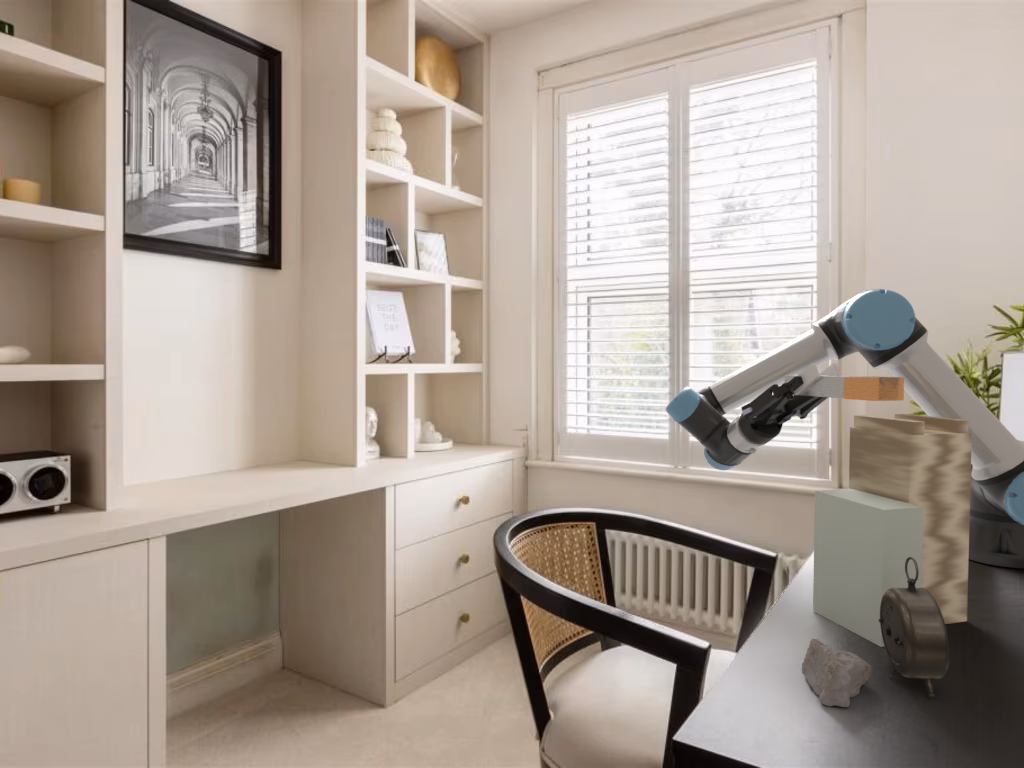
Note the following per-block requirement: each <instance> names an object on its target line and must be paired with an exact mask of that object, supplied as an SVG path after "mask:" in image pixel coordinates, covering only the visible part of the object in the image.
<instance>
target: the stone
mask: <svg viewBox="0 0 1024 768" xmlns="http://www.w3.org/2000/svg"><path fill="white" fill-rule="evenodd" d="M871 667H872V666H871V665H870V664H869V663H868V662H867V661H866V660H864V659H862V658H860V657H859V656H858V655H857V654H854V653H852V652H849V651H846V650H841V649H838V648H836V647H832V646H829V645H826V644H824V643H822V641H820V640H819V639H818V638H815V637H812V638H811V639H810V640H809V645H808V647H807V650H806V654H805V656H804V659H803V662H802V663H801V672H802V674H803V675H804V677H805V679H806V681H807V682H808V686H810V687H811V688H812V689H813V692H814V693H815V694H816V695H817V696H818V699H819V703H821V704H823V705H824V706H827V707H832V706H836V707H841V708H849V706H851V699H850V698H853V697H856V696H857V695H859V694H860V693H861V688H862V686H863V685H864V684H865V683H867V680H868V679H869V678H870V675H872V668H871Z"/></svg>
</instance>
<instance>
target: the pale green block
mask: <svg viewBox="0 0 1024 768" xmlns="http://www.w3.org/2000/svg"><path fill="white" fill-rule="evenodd" d="M813 521H814V522H813V523H814V524H813V526H814V529H813V530H814V533H813V536H814V537H813V538H814V539H813V585H812V586H813V588H812V590H813V595H812V598H813V599H812V602H813V603H812V611H813V612H814V613H816V614H819V616H822V617H823V618H826V619H828V620H829V621H831V622H834V623H835V624H837V625H839V626H841V627H843V628H845V629H846V630H848V631H850V632H852V633H854V634H855V635H858V636H860V637H862V638H863V639H866V640H867V641H869V642H871V643H872V644H875V645H876V646H879V647H880V648H885V646H884V642H883V638H882V633H881V626H880V622H879V619H880V605H881V600H882V597H883V595H884V594H885V592H886V591H887V590H889V589H890V588H908V582H907V580H908V578H907V576H906V573H905V562H906V559H907V558H908V557H913V558H914V559H915V560H916V562H917V565H918V569H919V575H918V579H917V581H916V584H915V587H916V588H921V583H922V540H923V507H922V506H918V505H914V504H910V503H906V502H902V501H898V500H894V499H890V498H886V497H882V496H878V495H874V494H870V493H866V492H863V491H859V490H855V489H851V488H850V489H849V488H838V489H837V488H836V489H820V490H814V520H813ZM907 570H908V575H909V578H913V579H915V577H916V568H915V564H914V562H913V560H911V559H910V560H909V562H908V565H907Z"/></svg>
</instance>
